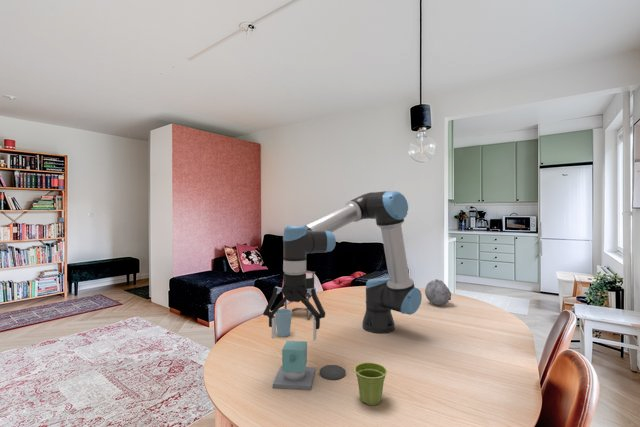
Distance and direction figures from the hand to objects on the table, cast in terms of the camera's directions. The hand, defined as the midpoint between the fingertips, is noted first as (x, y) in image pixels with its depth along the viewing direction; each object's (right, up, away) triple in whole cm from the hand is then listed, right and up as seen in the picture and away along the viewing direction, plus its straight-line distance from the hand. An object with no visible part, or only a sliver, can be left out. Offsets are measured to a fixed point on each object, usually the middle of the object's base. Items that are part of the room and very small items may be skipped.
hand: (294, 337), depth 103 cm
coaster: (+13, -14, +4) cm, 19 cm away
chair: (-2, -14, +66) cm, 67 cm away
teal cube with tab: (0, -10, 0) cm, 10 cm away
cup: (-8, -14, +38) cm, 41 cm away
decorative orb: (+78, -14, +84) cm, 115 cm away
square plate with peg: (0, -14, 0) cm, 14 cm away
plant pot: (+23, -14, -11) cm, 29 cm away
